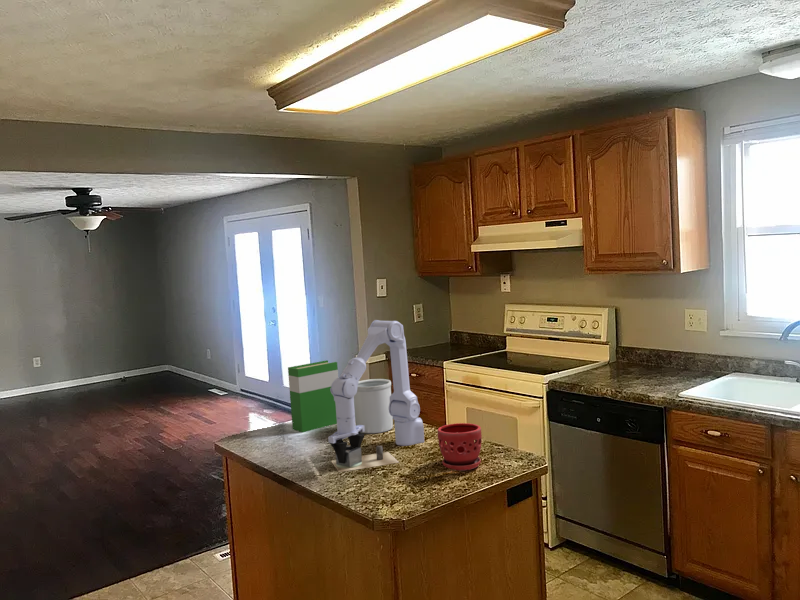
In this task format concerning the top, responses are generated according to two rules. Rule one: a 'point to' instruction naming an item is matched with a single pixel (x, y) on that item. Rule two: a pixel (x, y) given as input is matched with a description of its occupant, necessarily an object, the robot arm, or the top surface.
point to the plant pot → (460, 445)
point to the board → (369, 460)
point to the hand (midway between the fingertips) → (348, 459)
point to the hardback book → (312, 395)
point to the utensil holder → (373, 405)
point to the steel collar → (351, 456)
